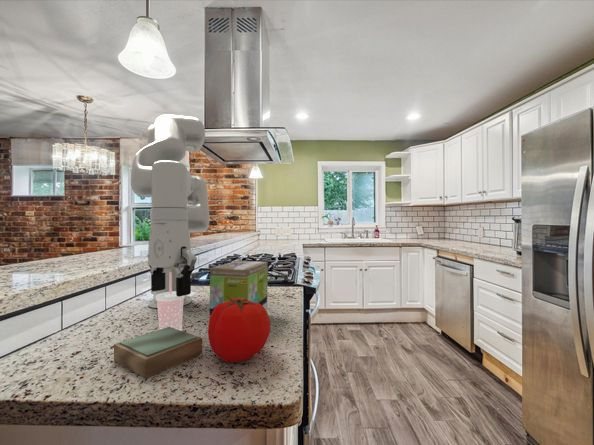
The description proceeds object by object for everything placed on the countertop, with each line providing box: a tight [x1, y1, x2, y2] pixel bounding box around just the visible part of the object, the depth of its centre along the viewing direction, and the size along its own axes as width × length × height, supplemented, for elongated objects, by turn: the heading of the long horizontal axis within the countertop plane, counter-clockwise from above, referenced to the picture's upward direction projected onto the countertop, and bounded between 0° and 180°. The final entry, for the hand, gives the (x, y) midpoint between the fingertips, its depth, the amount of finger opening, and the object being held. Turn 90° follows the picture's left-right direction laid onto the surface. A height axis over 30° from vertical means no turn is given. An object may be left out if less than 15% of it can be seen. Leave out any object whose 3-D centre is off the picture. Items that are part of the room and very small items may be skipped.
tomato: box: [207, 296, 271, 364], centre depth 55 cm, size 12×12×11 cm
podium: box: [113, 327, 203, 379], centre depth 56 cm, size 11×11×3 cm
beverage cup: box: [156, 272, 185, 331], centre depth 68 cm, size 6×6×14 cm
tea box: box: [208, 260, 269, 320], centre depth 76 cm, size 15×10×15 cm, turn 168°
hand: (170, 292), depth 67 cm, fingers open, 9 cm apart
